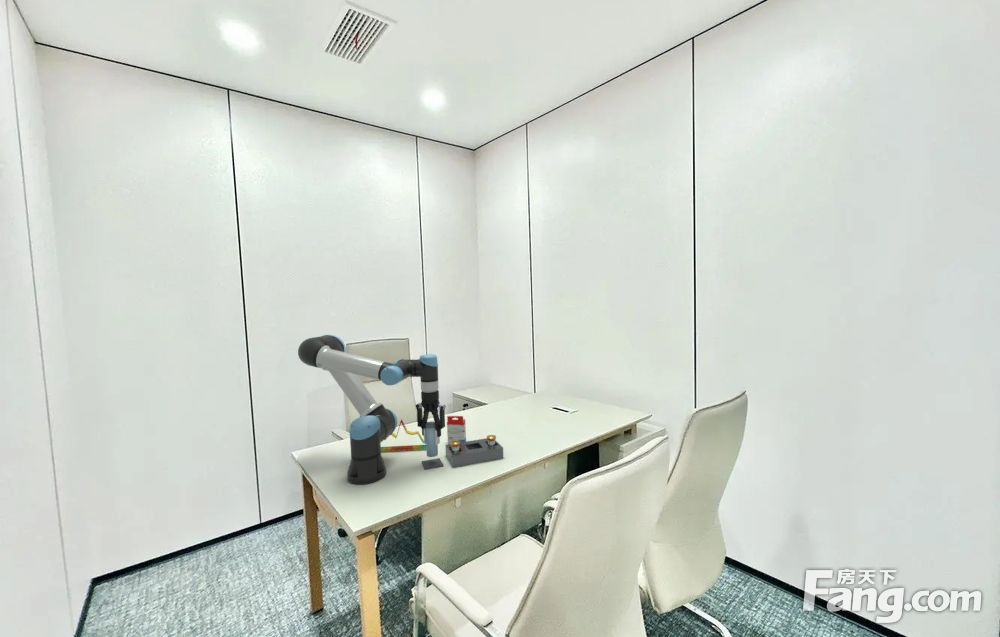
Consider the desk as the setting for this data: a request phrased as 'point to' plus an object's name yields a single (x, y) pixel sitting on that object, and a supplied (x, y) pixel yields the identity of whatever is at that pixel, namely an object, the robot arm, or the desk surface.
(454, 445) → the plunger near
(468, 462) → the housing
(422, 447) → the chart
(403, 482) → the desk surface
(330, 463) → the desk surface
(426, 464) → the pad
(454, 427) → the ink box
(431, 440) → the cylinder
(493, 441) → the plunger far
